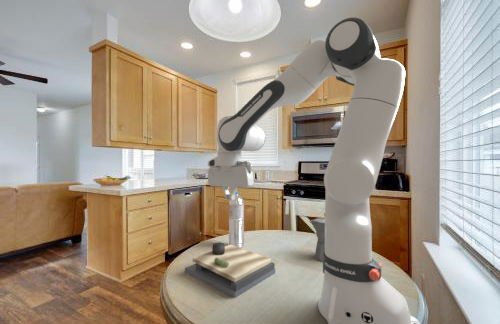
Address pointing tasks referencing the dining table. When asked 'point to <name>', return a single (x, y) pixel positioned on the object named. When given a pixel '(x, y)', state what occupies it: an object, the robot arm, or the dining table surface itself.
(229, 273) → the plate
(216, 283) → the base
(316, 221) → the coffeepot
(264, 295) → the dining table surface
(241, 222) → the water bottle
